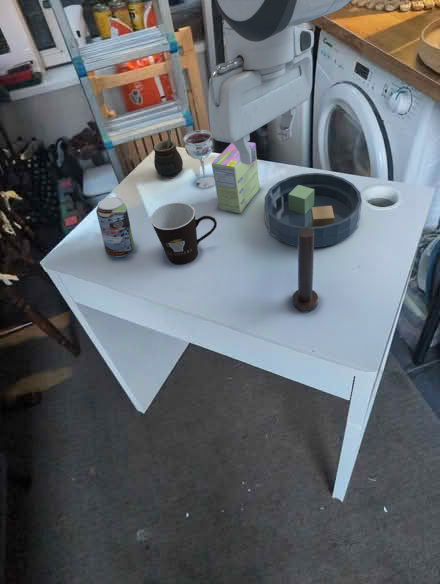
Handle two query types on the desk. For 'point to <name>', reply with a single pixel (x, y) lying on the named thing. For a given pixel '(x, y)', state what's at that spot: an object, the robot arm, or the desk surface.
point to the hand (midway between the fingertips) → (267, 150)
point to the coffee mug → (179, 231)
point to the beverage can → (115, 227)
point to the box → (235, 179)
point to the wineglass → (200, 152)
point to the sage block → (301, 199)
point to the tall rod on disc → (305, 272)
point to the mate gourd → (167, 158)
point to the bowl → (325, 194)
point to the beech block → (322, 216)
